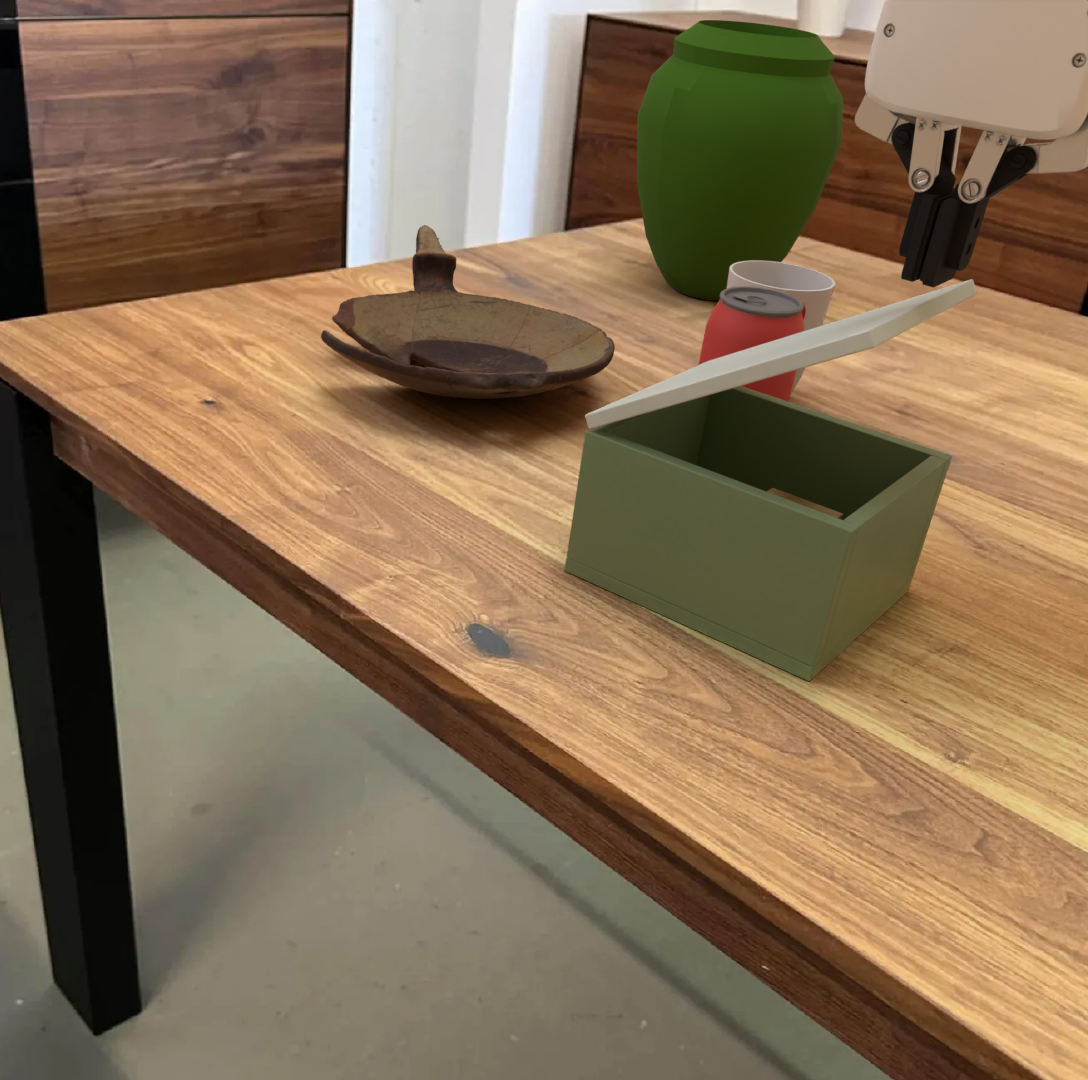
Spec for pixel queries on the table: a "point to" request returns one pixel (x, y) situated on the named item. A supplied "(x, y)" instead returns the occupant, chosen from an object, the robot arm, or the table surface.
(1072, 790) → the table surface
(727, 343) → the beer can
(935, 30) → the robot arm
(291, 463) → the table surface
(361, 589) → the table surface
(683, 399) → the grey box lid
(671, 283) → the vase
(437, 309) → the oil lamp
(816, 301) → the cup
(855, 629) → the open green box
